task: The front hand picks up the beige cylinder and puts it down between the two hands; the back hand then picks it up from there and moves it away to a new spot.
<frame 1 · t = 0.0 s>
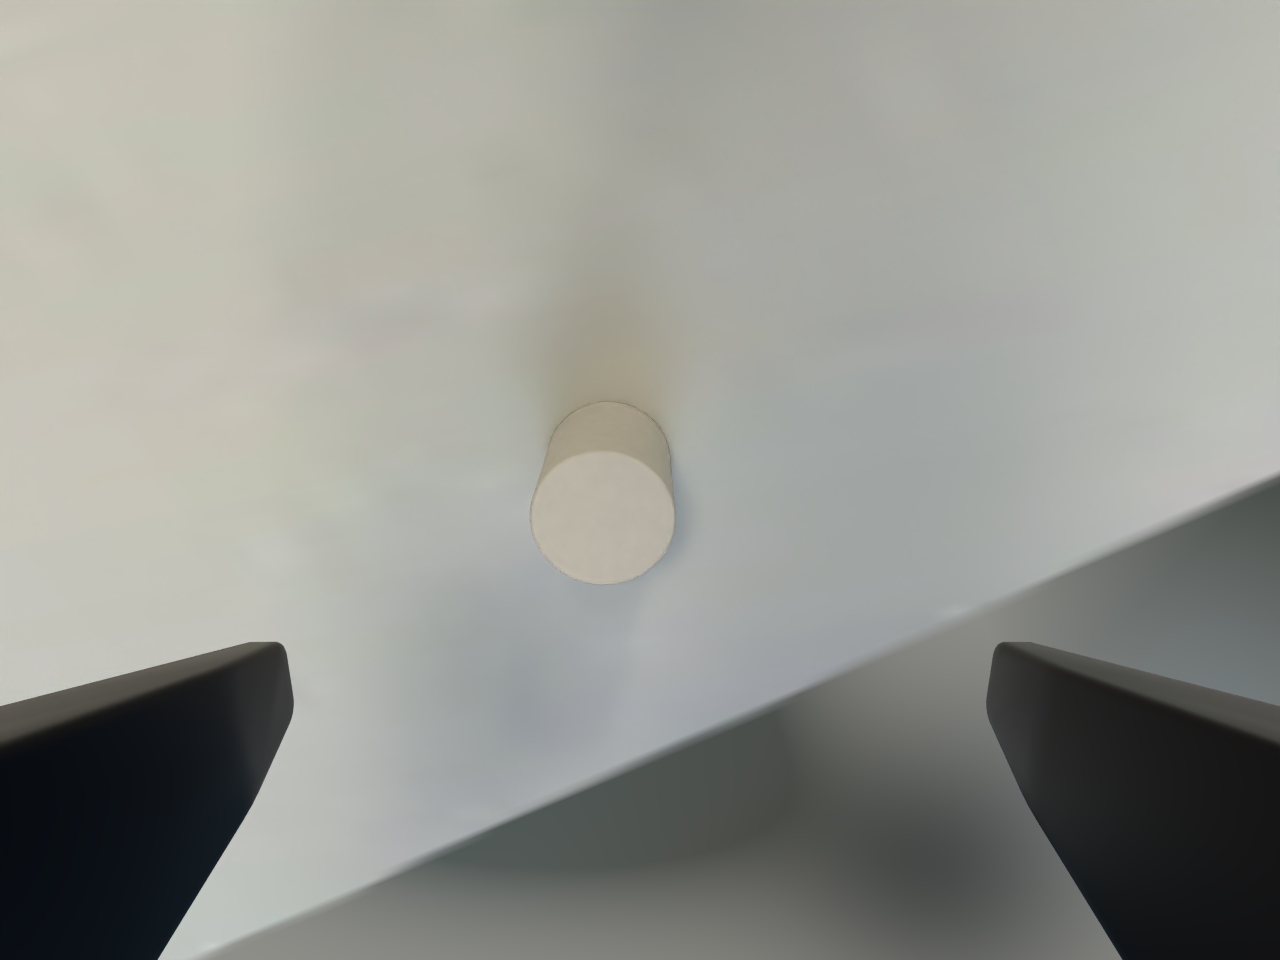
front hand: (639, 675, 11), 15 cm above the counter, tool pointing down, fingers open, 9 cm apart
beige cylinder: (608, 460, 26), on the counter
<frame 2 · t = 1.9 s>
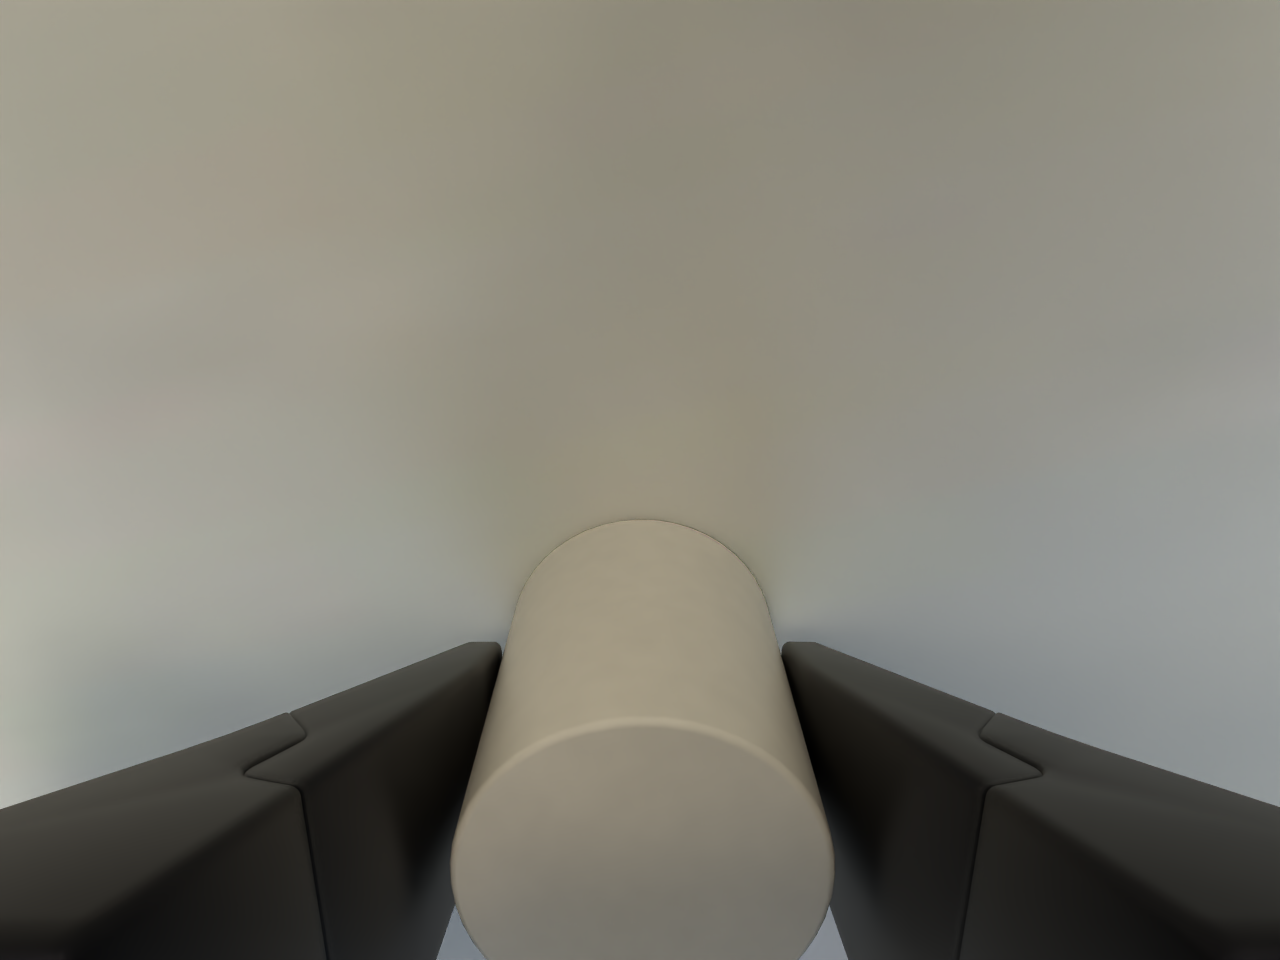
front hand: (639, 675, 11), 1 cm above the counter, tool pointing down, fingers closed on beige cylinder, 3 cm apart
beige cylinder: (641, 635, 12), on the counter, touching front hand
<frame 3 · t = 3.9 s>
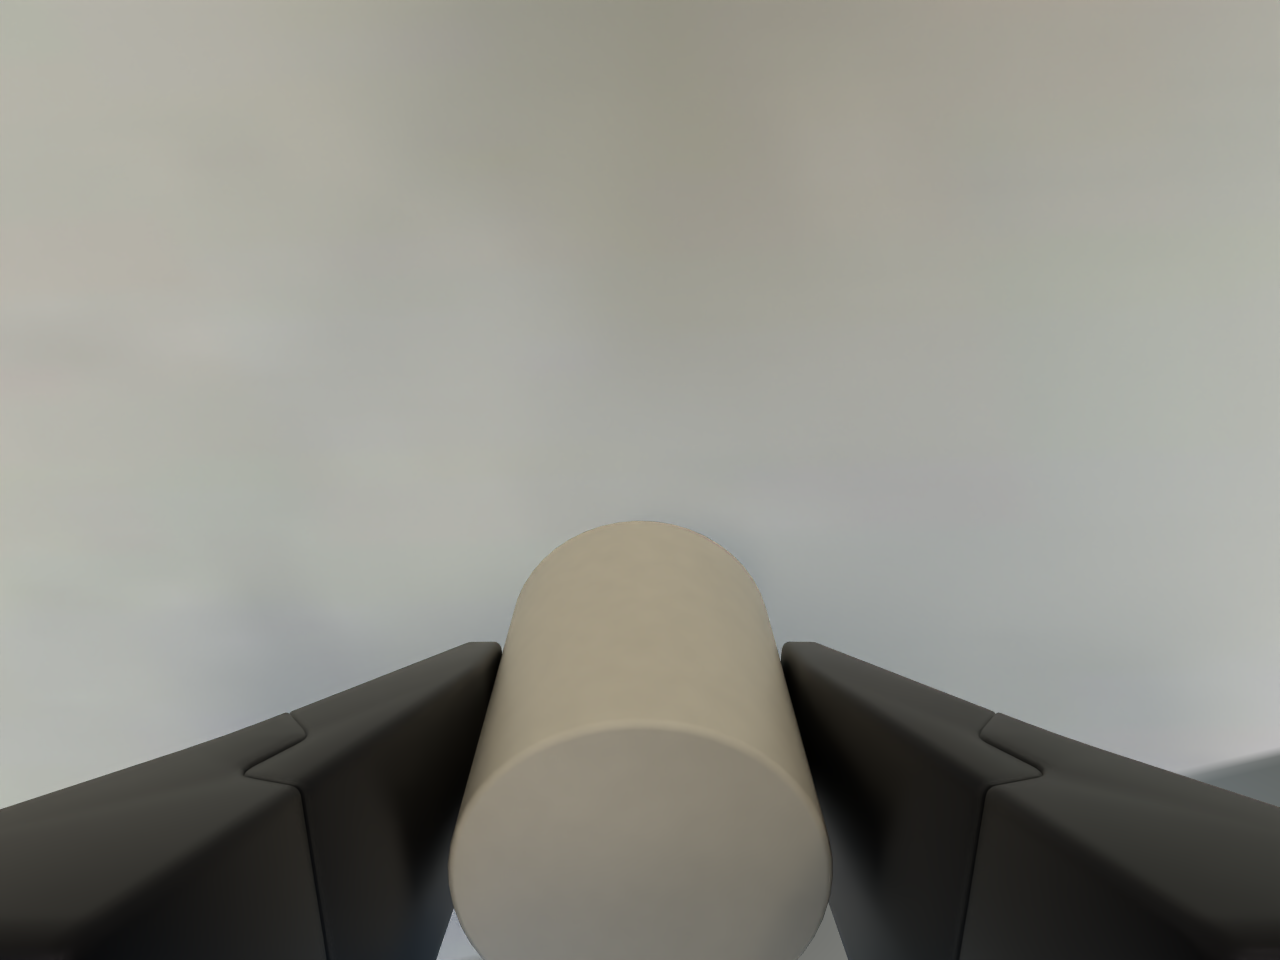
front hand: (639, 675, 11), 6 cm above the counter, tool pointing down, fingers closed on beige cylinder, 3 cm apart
beige cylinder: (640, 637, 12), point 5 cm above the counter, touching front hand
when the front hand's fingers open (2 cm above the counter, at t = 6.2 s): beige cylinder stays where it is, on the counter.
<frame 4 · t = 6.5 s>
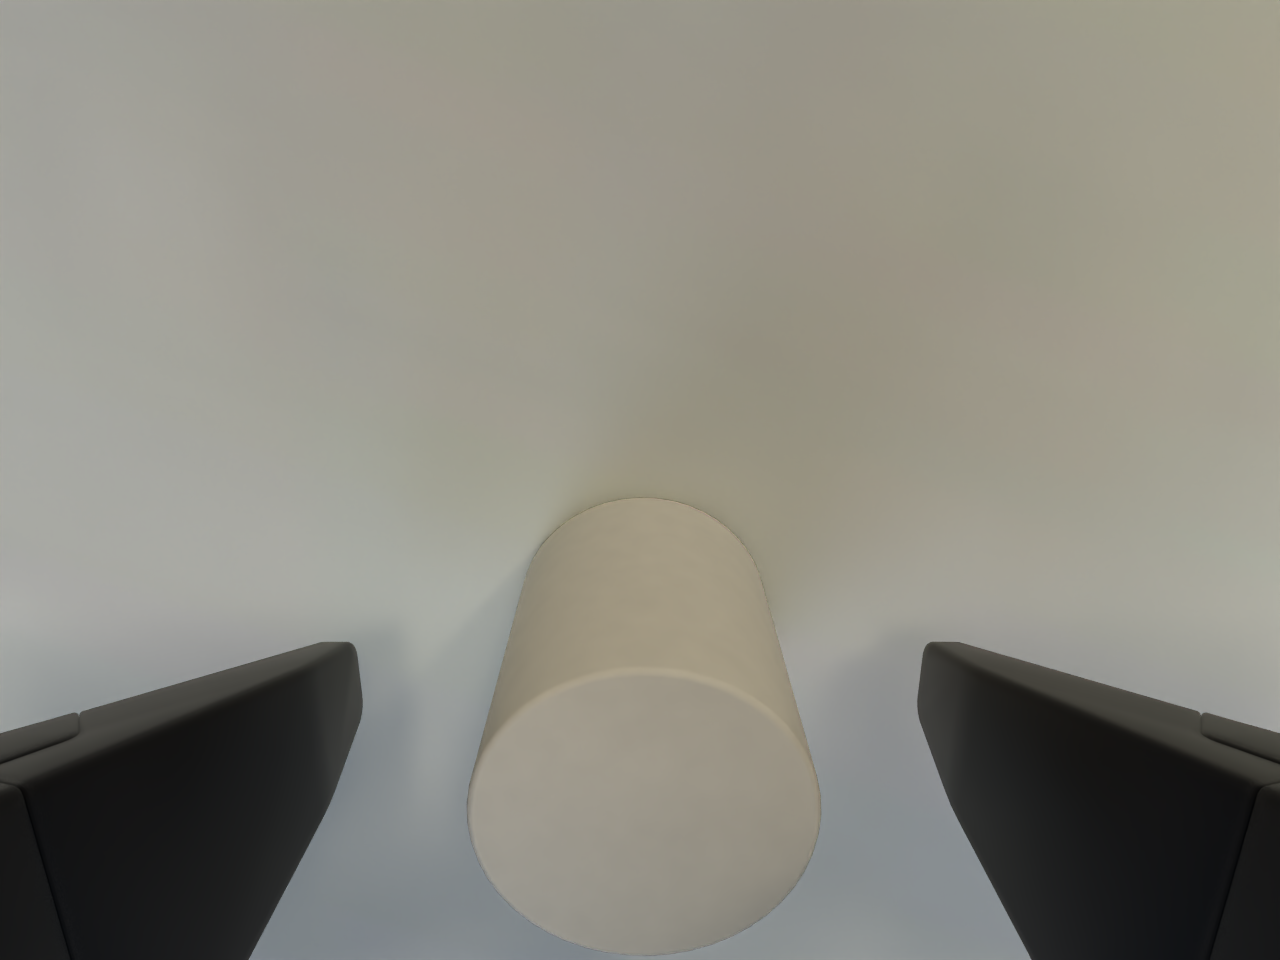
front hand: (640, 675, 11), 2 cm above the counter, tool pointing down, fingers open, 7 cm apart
beige cylinder: (642, 608, 13), on the counter
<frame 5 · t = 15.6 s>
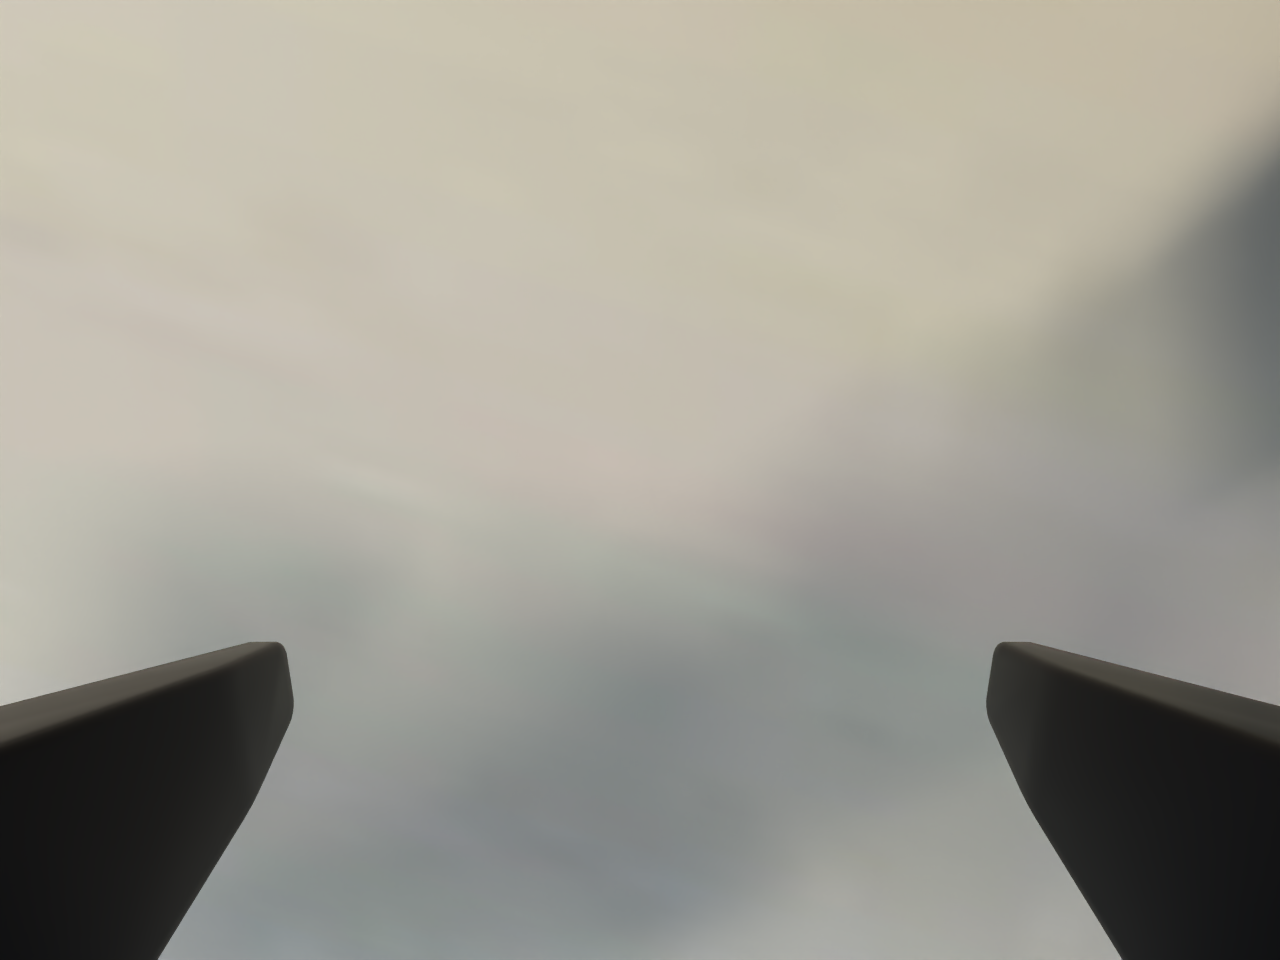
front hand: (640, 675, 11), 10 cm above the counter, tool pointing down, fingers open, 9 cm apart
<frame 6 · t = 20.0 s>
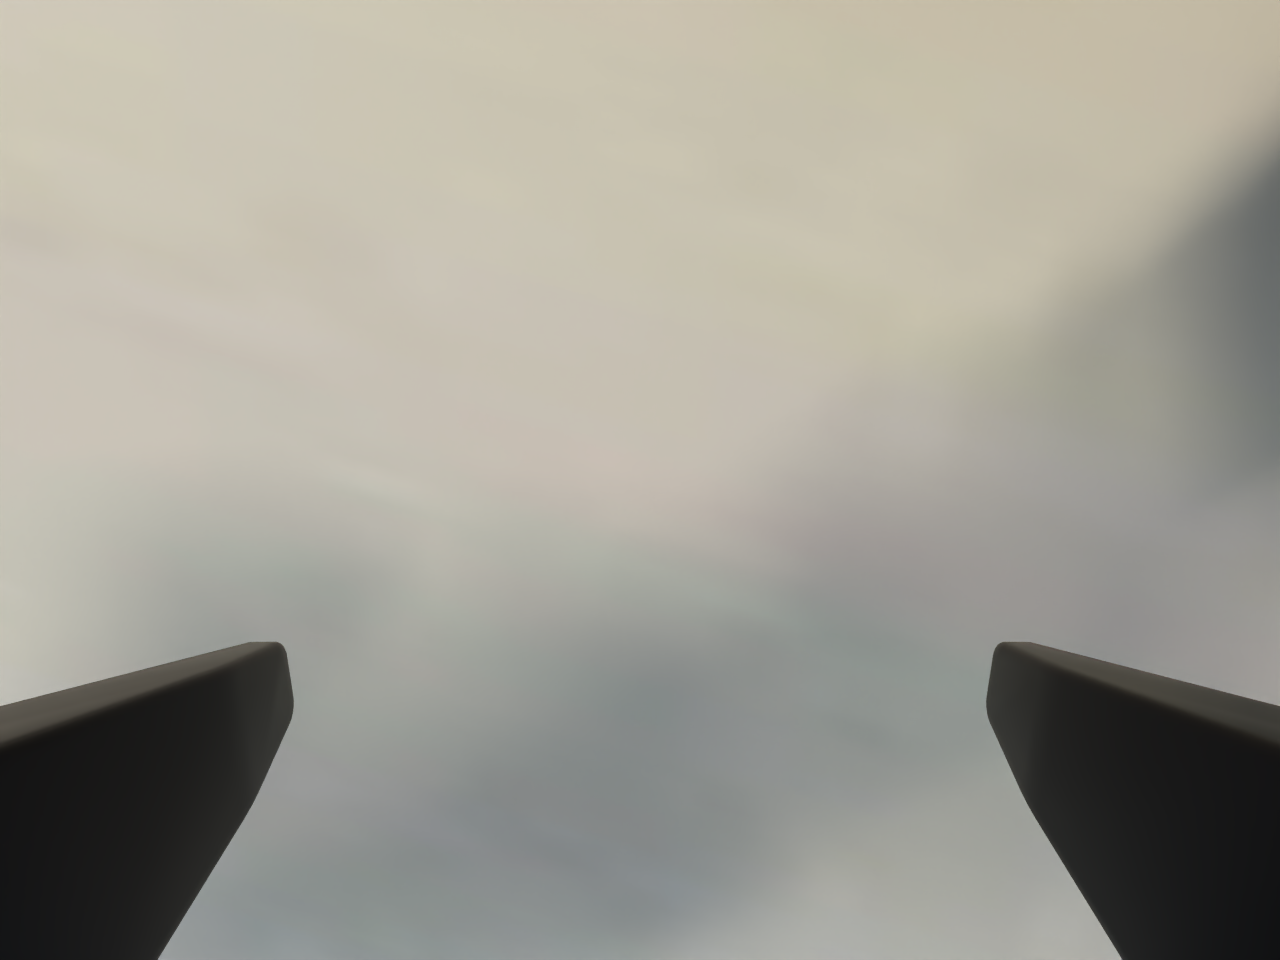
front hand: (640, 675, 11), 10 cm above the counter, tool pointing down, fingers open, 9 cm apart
when the back hand's fingers open (0 cm above the counter, at t = 24.6 s): beige cylinder stays where it is, on the counter.
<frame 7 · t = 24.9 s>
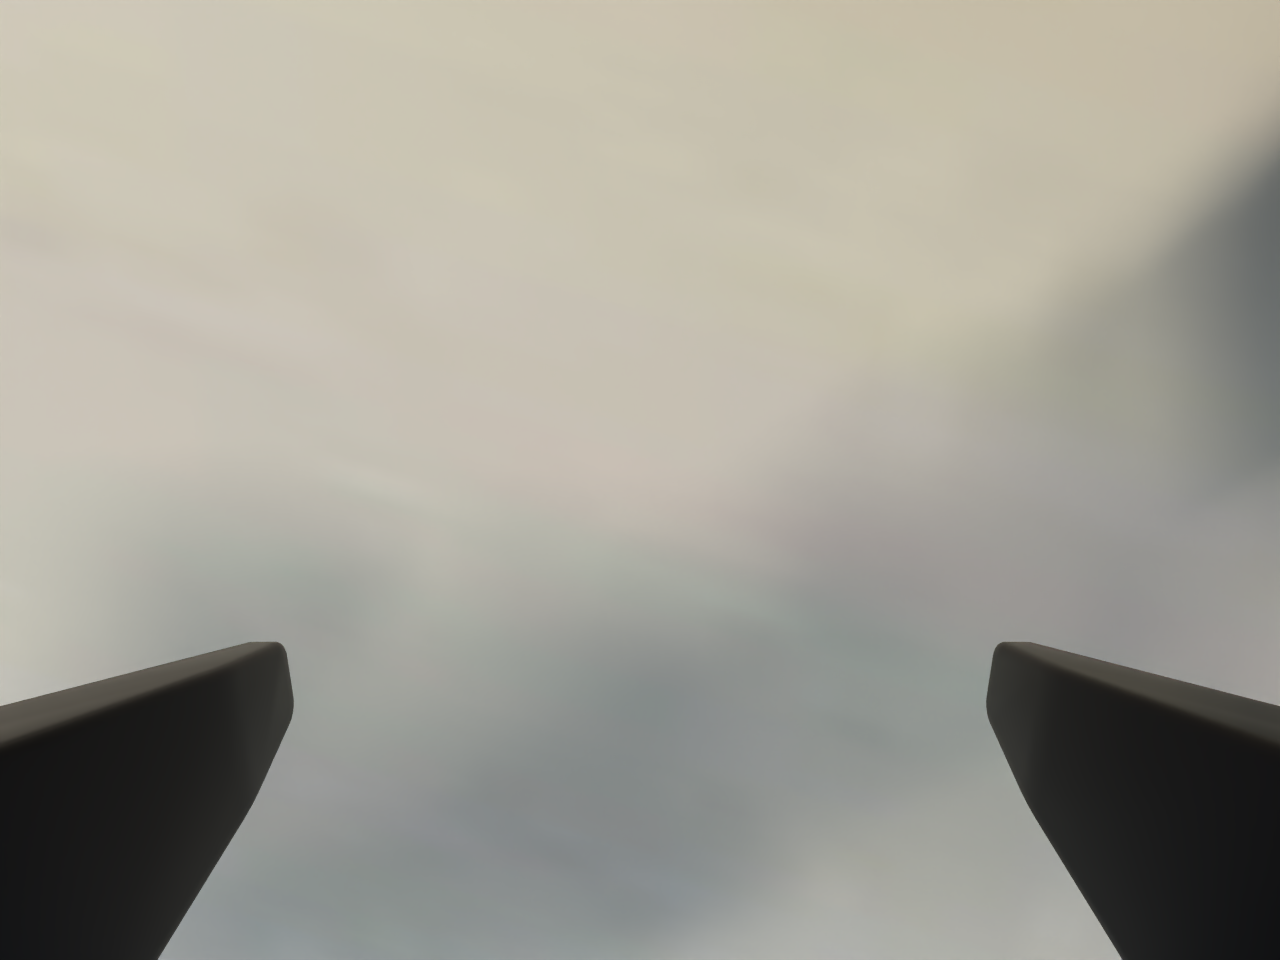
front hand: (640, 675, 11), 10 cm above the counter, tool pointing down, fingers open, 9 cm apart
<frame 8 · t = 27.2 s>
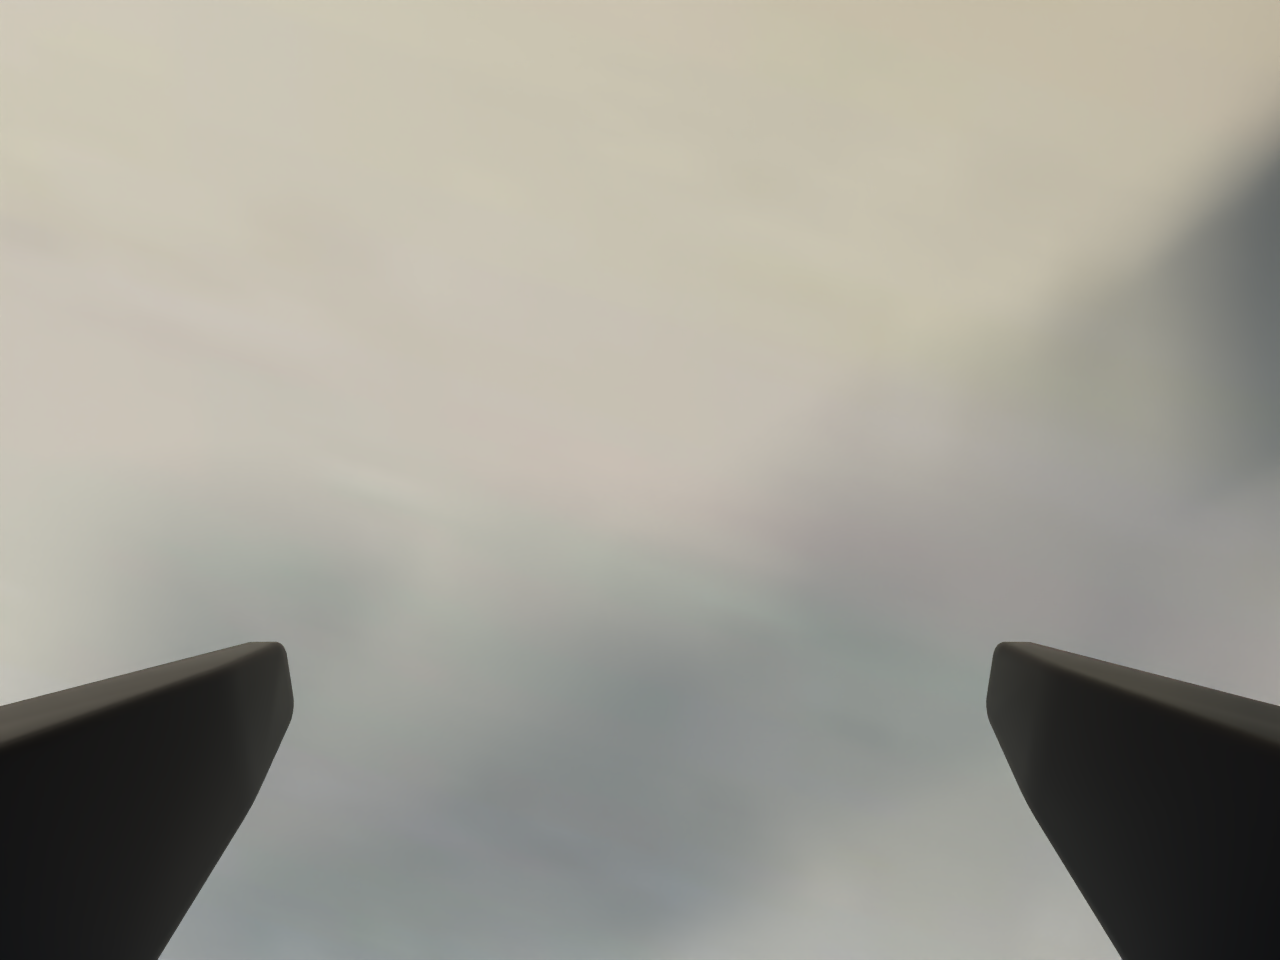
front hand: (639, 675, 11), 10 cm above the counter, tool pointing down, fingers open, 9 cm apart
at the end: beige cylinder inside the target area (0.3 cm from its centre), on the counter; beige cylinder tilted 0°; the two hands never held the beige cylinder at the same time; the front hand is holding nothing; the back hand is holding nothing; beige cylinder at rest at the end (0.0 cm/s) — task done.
